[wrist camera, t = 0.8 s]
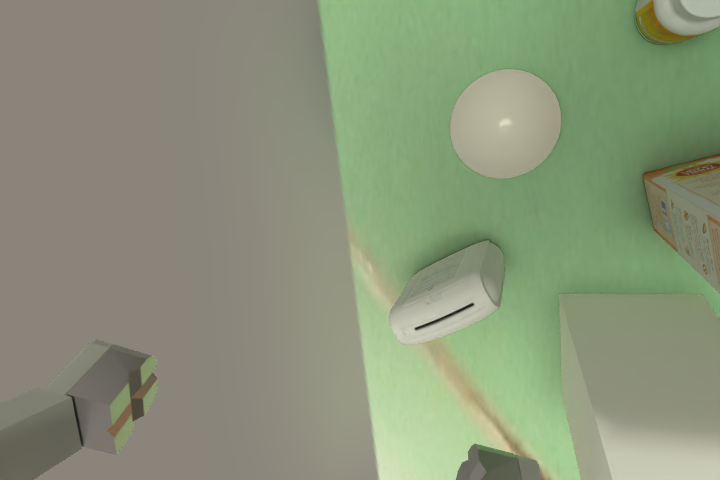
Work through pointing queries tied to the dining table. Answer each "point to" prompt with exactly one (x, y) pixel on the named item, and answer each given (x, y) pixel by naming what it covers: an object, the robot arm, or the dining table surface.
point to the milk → (642, 385)
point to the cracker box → (689, 212)
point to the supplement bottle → (676, 19)
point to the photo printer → (450, 294)
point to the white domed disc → (505, 123)
